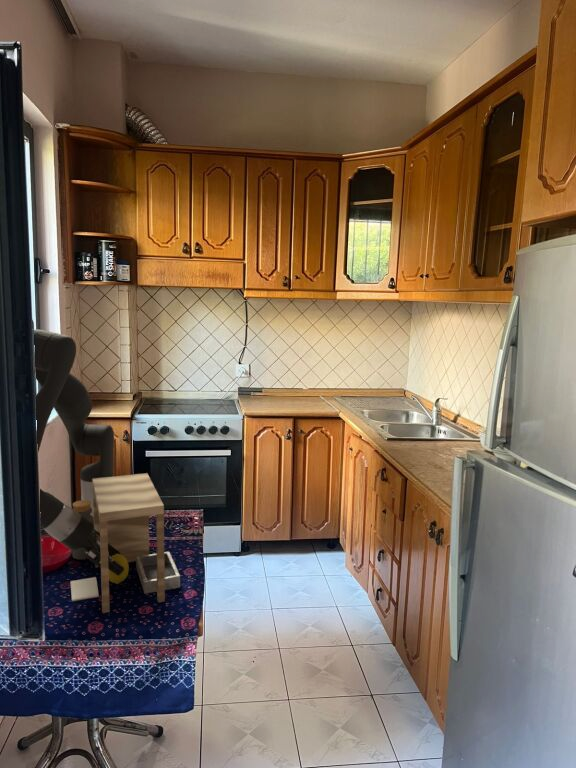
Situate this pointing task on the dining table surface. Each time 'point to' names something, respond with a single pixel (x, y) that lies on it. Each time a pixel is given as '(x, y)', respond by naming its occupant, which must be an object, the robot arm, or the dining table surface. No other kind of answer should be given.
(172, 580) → the open rectangular box
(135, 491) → the small wooden table
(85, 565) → the dining table surface
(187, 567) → the dining table surface
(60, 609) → the dining table surface
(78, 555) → the bottle
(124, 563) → the lemon
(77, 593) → the pad
